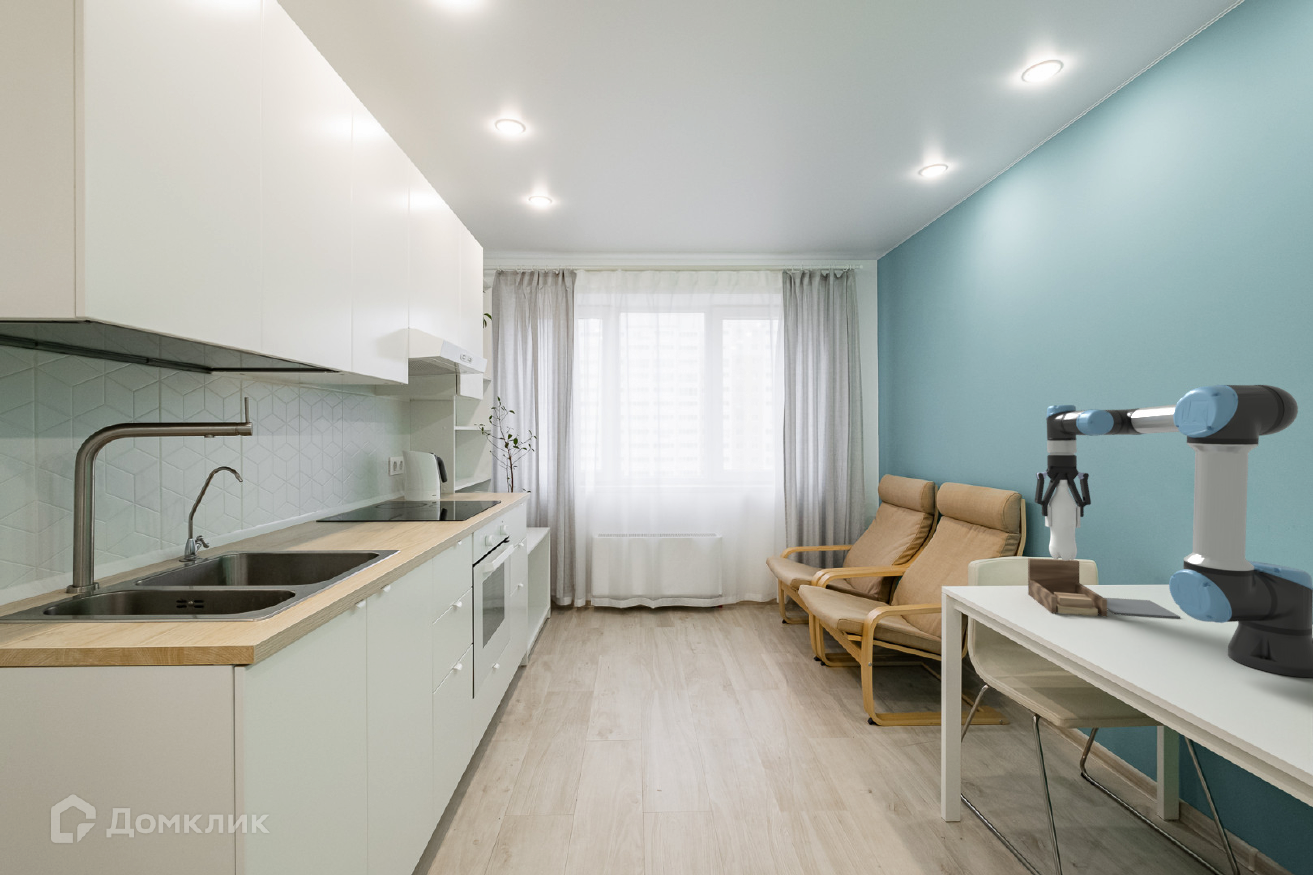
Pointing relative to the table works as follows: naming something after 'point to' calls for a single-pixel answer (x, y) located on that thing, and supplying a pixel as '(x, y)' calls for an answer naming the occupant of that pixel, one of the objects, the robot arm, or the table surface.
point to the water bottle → (1063, 523)
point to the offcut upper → (1073, 600)
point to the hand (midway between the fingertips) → (1062, 526)
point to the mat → (1138, 608)
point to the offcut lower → (1076, 610)
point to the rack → (1058, 583)
